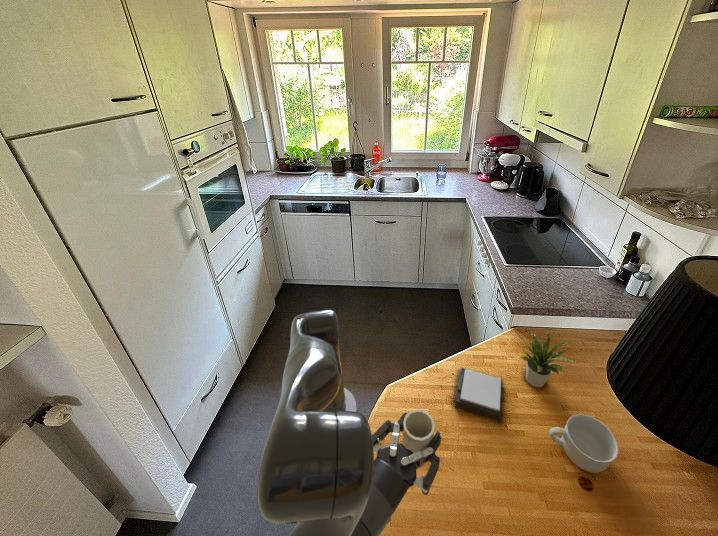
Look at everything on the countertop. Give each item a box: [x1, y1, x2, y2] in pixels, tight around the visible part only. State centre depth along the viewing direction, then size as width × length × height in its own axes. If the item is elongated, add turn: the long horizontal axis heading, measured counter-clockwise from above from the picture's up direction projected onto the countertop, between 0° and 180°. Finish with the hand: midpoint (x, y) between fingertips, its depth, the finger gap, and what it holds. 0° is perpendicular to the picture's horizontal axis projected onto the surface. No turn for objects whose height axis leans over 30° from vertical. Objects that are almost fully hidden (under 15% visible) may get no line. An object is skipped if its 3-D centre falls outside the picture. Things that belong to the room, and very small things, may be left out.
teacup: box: [548, 413, 619, 473], centre depth 78 cm, size 14×11×8 cm
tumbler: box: [401, 409, 436, 469], centre depth 67 cm, size 6×6×10 cm
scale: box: [454, 367, 503, 421], centre depth 93 cm, size 12×12×3 cm
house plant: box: [519, 329, 576, 388], centre depth 94 cm, size 14×14×16 cm
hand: (423, 424), depth 68 cm, fingers closed on tumbler, 6 cm apart
